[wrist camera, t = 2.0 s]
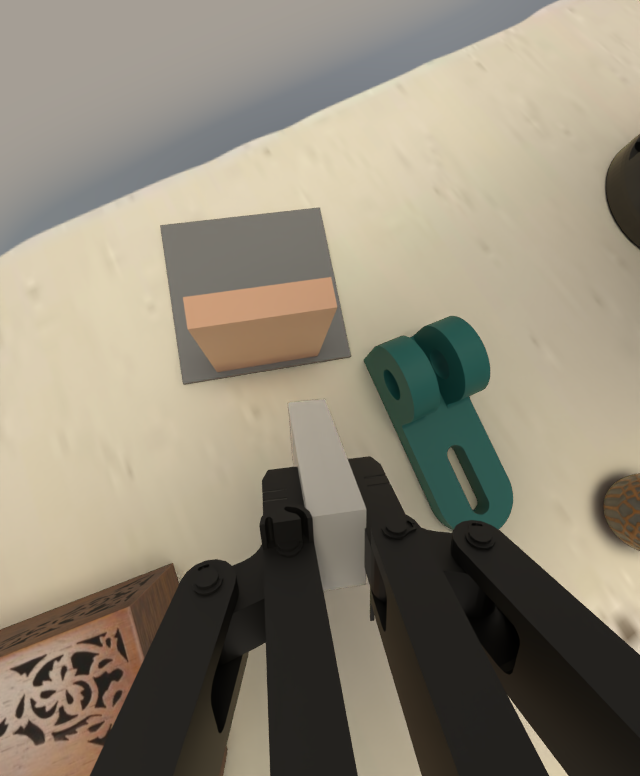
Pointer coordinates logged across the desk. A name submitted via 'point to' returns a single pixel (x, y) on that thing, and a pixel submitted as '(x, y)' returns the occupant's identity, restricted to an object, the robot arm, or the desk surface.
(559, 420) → the desk surface
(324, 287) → the tile
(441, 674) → the robot arm
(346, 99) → the desk surface
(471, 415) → the bracket
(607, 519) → the vase
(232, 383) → the desk surface
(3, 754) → the tissue box cover
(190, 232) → the mat
